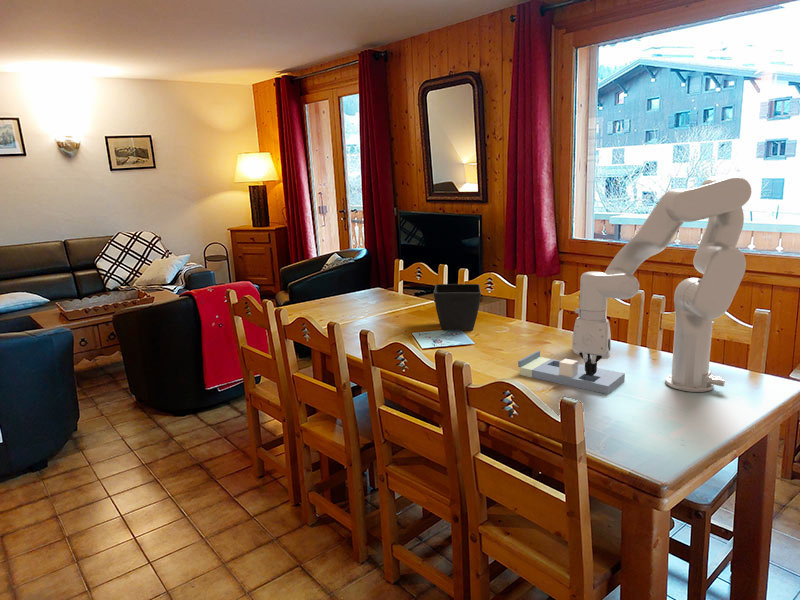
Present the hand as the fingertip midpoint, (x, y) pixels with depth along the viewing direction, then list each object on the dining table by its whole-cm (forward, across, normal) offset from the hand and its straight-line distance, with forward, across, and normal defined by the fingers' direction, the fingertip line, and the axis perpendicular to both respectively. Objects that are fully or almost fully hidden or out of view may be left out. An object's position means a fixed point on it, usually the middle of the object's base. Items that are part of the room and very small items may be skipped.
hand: (590, 374), depth 168 cm
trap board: (+4, -7, +3) cm, 8 cm away
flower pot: (+4, -71, +33) cm, 79 cm away
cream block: (+1, -6, -1) cm, 7 cm away
